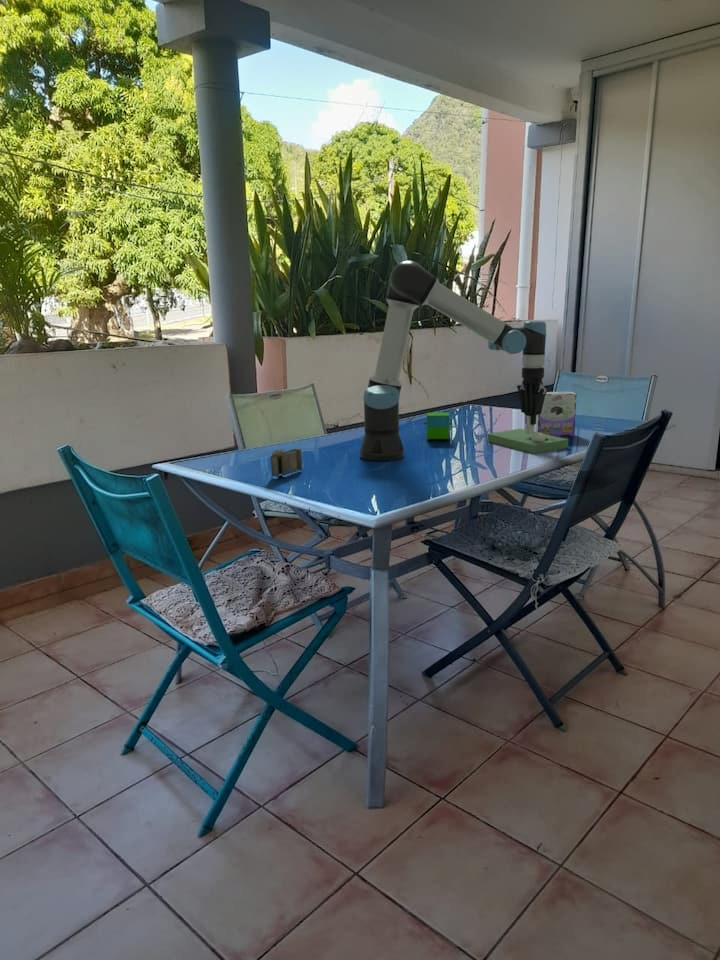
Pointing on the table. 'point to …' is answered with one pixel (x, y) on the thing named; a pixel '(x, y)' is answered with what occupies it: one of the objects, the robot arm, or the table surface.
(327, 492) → the table surface
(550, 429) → the candy box
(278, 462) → the ruin model on sheet
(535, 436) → the ball
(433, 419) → the green toy van
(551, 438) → the putting mat
